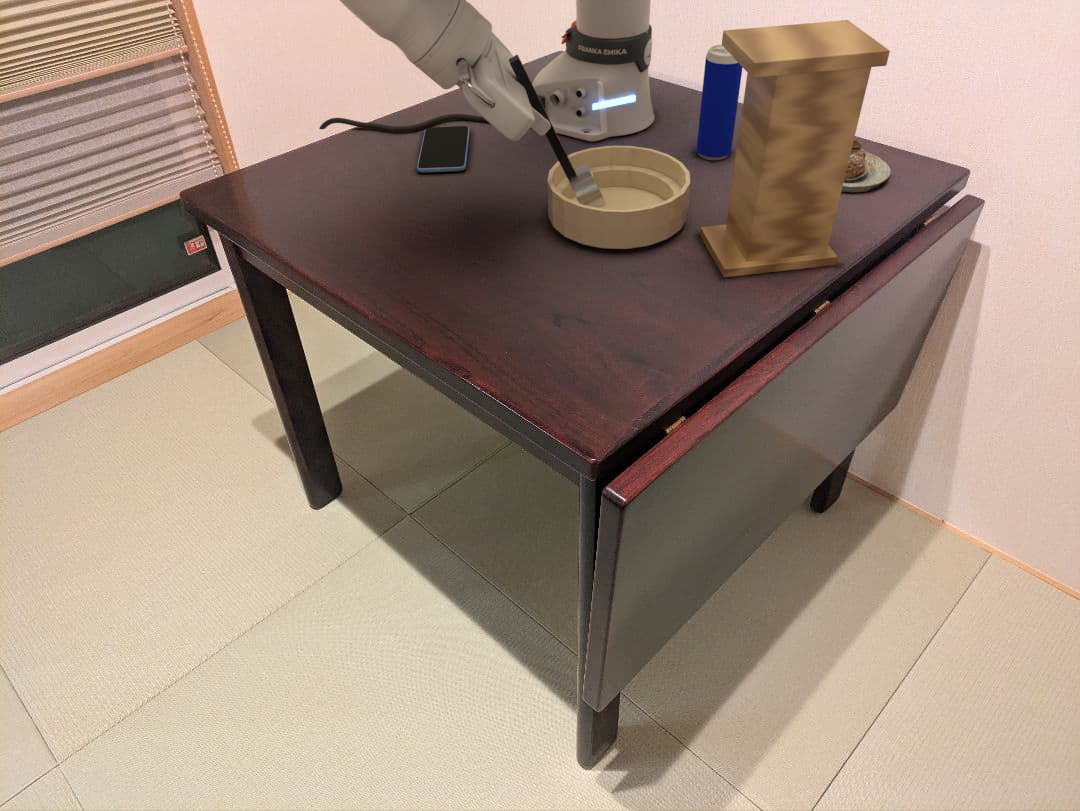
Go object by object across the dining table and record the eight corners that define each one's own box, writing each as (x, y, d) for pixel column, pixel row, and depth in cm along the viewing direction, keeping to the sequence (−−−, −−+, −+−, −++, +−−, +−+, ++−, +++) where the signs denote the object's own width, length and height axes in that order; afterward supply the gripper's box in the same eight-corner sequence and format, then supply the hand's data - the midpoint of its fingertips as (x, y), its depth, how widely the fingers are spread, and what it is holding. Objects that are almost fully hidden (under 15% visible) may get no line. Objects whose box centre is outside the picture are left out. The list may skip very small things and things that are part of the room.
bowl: (527, 238, 103) (524, 196, 99) (579, 177, 115) (579, 137, 111) (661, 265, 97) (665, 222, 93) (702, 198, 109) (706, 157, 105)
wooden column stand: (723, 277, 95) (754, 62, 78) (699, 235, 102) (722, 30, 85) (835, 265, 96) (890, 50, 79) (804, 224, 103) (847, 19, 86)
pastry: (784, 176, 113) (790, 145, 110) (827, 147, 119) (834, 117, 116) (862, 202, 106) (871, 170, 103) (903, 171, 113) (912, 140, 110)
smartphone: (469, 124, 128) (465, 166, 117) (470, 130, 128) (466, 172, 117) (424, 126, 128) (415, 168, 117) (424, 131, 128) (416, 173, 117)
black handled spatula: (580, 201, 107) (600, 191, 106) (589, 223, 102) (610, 212, 102) (505, 52, 93) (528, 39, 92) (512, 70, 88) (536, 57, 88)
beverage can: (734, 149, 120) (748, 46, 110) (725, 163, 116) (739, 58, 106) (701, 144, 121) (712, 42, 111) (691, 158, 118) (701, 54, 108)
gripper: (481, 56, 80) (577, 141, 87) (467, -3, 94) (550, 73, 102) (442, 104, 82) (538, 182, 90) (434, 39, 97) (517, 110, 105)
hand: (544, 124), depth 96 cm, fingers closed on black handled spatula, 2 cm apart
